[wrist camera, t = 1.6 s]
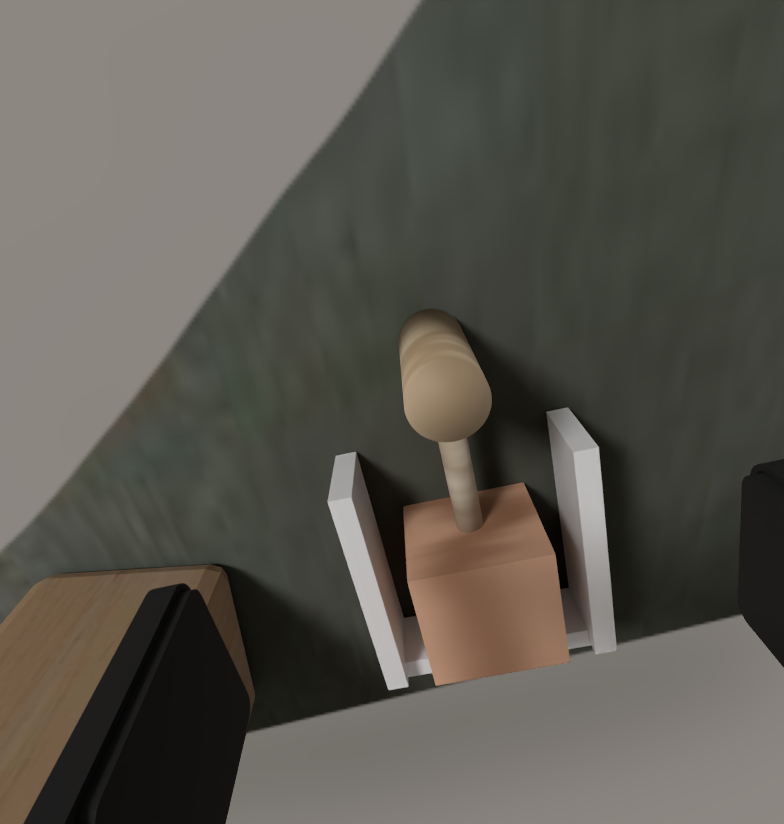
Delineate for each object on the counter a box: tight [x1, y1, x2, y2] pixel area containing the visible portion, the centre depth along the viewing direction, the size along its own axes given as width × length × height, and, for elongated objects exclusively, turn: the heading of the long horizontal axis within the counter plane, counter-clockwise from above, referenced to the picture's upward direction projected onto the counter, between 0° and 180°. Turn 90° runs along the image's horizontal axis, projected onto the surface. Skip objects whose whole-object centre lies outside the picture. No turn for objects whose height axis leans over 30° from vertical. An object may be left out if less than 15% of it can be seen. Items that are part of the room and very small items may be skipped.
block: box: [399, 309, 570, 686], centre depth 23 cm, size 6×15×7 cm, turn 13°
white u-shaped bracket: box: [328, 407, 617, 690], centre depth 26 cm, size 11×12×4 cm
